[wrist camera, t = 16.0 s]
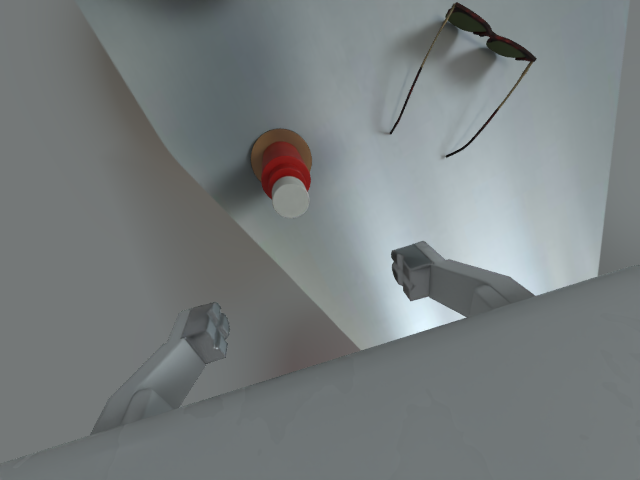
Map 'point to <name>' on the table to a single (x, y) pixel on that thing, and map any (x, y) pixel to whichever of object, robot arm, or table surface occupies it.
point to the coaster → (278, 136)
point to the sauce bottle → (285, 179)
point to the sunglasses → (496, 43)
